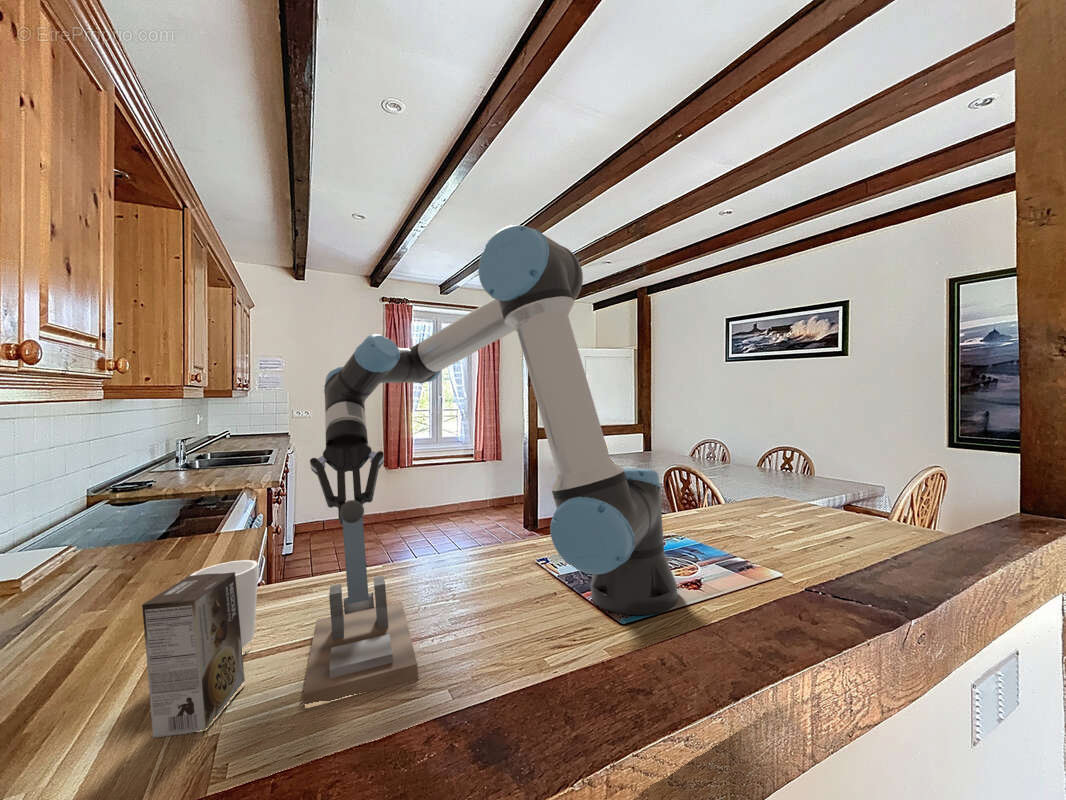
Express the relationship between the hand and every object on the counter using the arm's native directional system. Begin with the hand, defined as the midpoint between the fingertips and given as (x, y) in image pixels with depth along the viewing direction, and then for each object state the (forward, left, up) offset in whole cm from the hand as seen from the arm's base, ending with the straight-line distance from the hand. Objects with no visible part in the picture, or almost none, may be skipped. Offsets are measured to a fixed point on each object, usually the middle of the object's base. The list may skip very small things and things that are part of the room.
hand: (352, 538), depth 77 cm
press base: (-4, +4, -16) cm, 17 cm away
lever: (-1, +1, -11) cm, 11 cm away
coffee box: (+8, +20, -16) cm, 27 cm away
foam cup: (+18, +8, -16) cm, 26 cm away
